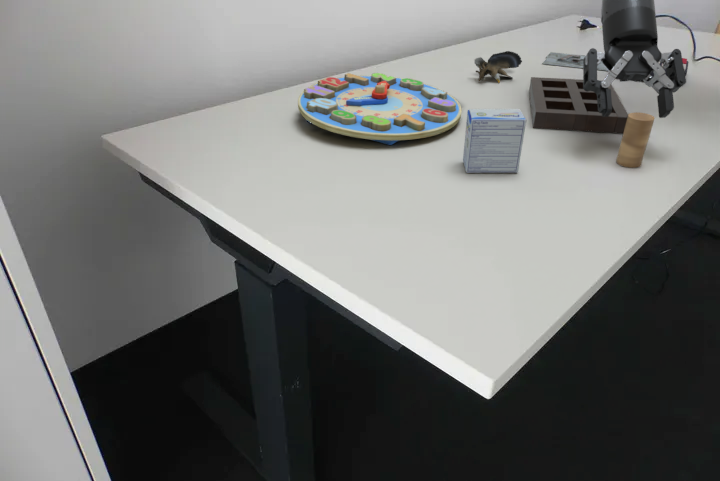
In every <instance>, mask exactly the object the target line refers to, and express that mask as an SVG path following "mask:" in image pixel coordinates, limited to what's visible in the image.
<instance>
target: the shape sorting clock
mask: <svg viewBox="0 0 720 481" xmlns="http://www.w3.org/2000/svg"><path fill="white" fill-rule="evenodd" d="M297 109H298V111H299V113H300V114H301V116H302V117H303V118H304V119H305V120H306V122H307V121H308V122H311V123H312V124H311V123H310V124H311V125H314V126H316V127H318V128H321V129H323V130H325V131H327V132H331V133H334V134H338V135H342V136H347V137H351V138H356V139H365V140H370V141H373V142H377V143H380V144H384V145H389V146H392V145H394V144H396V143H398V142H400V141H408V140H417V139H418V140H419V139H424V138H425V139H426V138H431V137H434V136H438V135H440V134H443V133H445V132H448V131H449V130H451V129H453V128H454V127H455V126H457V124H458V123H459V122H460V120H461V117H462V112H463V109H462V105H461V103H460V102H459V101H458V99H457V98H455V97H454V96H453V95H452V94H450V93H448V92H447V91H445V90H443V89H441V88H439V87H436V86H434V85H431V84H427V83H424V82H423V81H421V80H418V79H414V78H411V77H410V78H409V77H396V76H392V75H389V76H387V75H386V74H385V73H380V72H373V73H372V74H370V75H357V74H354V73H351V72H347V73H345V74H344V76H340V77H333V76H327V77H324V78H321V79H318V80H317V82H316V83H313V84H311V85H310V86H308V87H306V88H304V89H303V91H302V92H301V93H300V94H299V95H298V98H297ZM308 122H307V123H308Z"/></svg>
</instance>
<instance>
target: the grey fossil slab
mask: <svg viewBox="0 0 720 481" xmlns="http://www.w3.org/2000/svg"><path fill="white" fill-rule="evenodd" d="M585 56H586V54H585V55H583V54H575V53H574V54H573V53H563V52H553V51H550V52H549V53H548V55H547V56H546V57H545V60H544V61H543V62H542V65H550V66H558V67H567V68H578V69H579V68H580V69H583V60H584V58H585ZM597 71H605V72H606V71H607V72H608V71H609V70H608V68H607V67H606V66H605V65H604V64H603V62H602V61H601V62H600V63H599V65H598V66H597Z"/></svg>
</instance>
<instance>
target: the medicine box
mask: <svg viewBox="0 0 720 481" xmlns="http://www.w3.org/2000/svg"><path fill="white" fill-rule="evenodd" d="M526 125H527V119H526V117H525V115H524V114H523V112H522V111H521V109H520V108H468V109H467V113H466V122H465V134H464V145H463V156H462V161H463V166H464V169H465V173H469V174H470V173H475V174H477V173H483V174H484V173H485V174H486V173H519V169H520V163H521V156H522V150H523V144H524V138H525V131H526V130H525V129H526V127H527V126H526Z"/></svg>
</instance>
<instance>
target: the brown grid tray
mask: <svg viewBox="0 0 720 481" xmlns="http://www.w3.org/2000/svg"><path fill="white" fill-rule="evenodd" d="M608 89H611V98H612V112H611V114H610V115H609V116H608V117H602V113H599V111H598V104H597V94H596V93H595V92H593V91H585V90H584V89H583V79H578V78H577V79H576V78H560V77H559V78H557V77H536V76H531V77H530V81H529V86H528V93H529V94H528V96H529V104H530V112H531V122H532V129H544V130H559V131H576V132H588V133H589V132H591V133H593V132H594V133H606V134H608V133H609V134H620V135H621V134H622V135H623V133H624V129H625V125H626V121H627V117H628V114H629V112H627V109H626V108H625V106H624V104H623V103H622V100H621V98H620V97H619V95H618V94H617V92H616V90H615V88H614V86H613V85H612V83H611V84H610V86H609V87H608Z"/></svg>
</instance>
